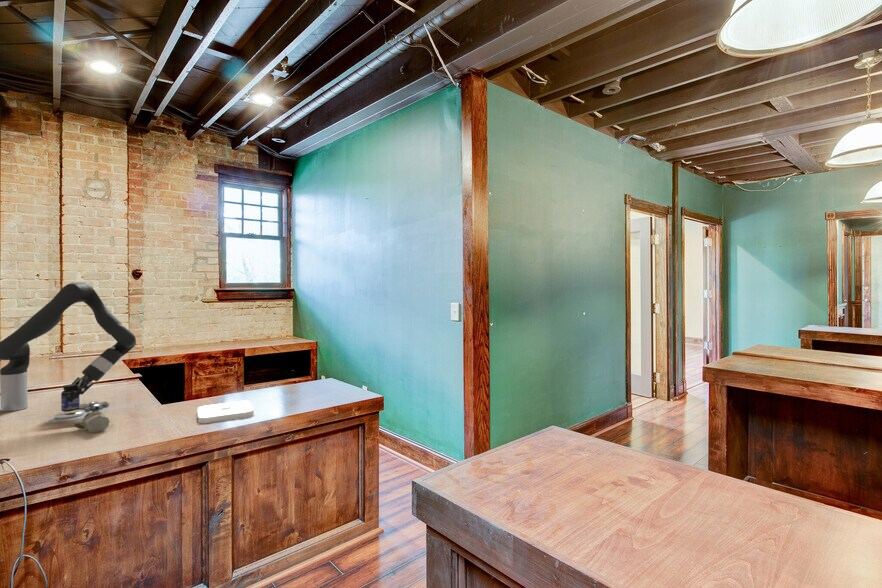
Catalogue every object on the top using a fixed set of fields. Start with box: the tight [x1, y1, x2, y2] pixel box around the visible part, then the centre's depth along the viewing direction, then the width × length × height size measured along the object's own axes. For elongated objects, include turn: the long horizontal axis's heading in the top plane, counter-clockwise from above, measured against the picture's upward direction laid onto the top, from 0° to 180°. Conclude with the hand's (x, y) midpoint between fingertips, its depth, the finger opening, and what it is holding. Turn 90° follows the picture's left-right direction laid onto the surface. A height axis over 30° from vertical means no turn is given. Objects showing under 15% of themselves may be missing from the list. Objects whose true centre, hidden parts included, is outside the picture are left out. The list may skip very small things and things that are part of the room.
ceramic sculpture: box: [74, 409, 110, 434], centre depth 174 cm, size 11×9×15 cm
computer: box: [197, 400, 255, 424], centre depth 196 cm, size 22×22×3 cm
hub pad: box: [54, 410, 85, 419], centre depth 189 cm, size 10×10×1 cm
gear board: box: [45, 403, 110, 424], centre depth 193 cm, size 24×17×2 cm
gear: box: [78, 401, 110, 412], centre depth 201 cm, size 13×13×3 cm
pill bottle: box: [60, 383, 81, 412], centre depth 189 cm, size 6×6×11 cm
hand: (65, 399), depth 188 cm, fingers closed on pill bottle, 6 cm apart
